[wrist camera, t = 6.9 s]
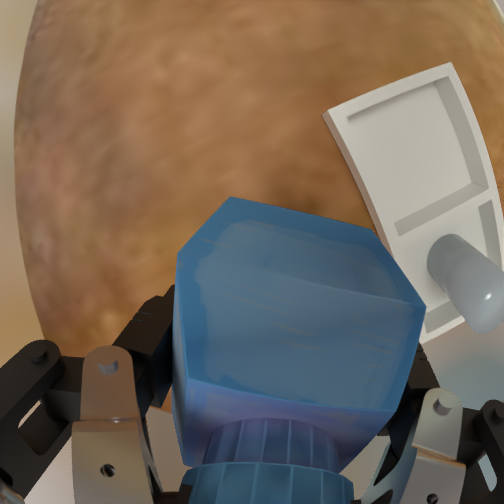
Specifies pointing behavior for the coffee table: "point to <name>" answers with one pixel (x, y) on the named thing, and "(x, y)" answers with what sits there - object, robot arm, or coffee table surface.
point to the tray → (422, 177)
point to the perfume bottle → (285, 353)
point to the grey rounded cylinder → (468, 281)
